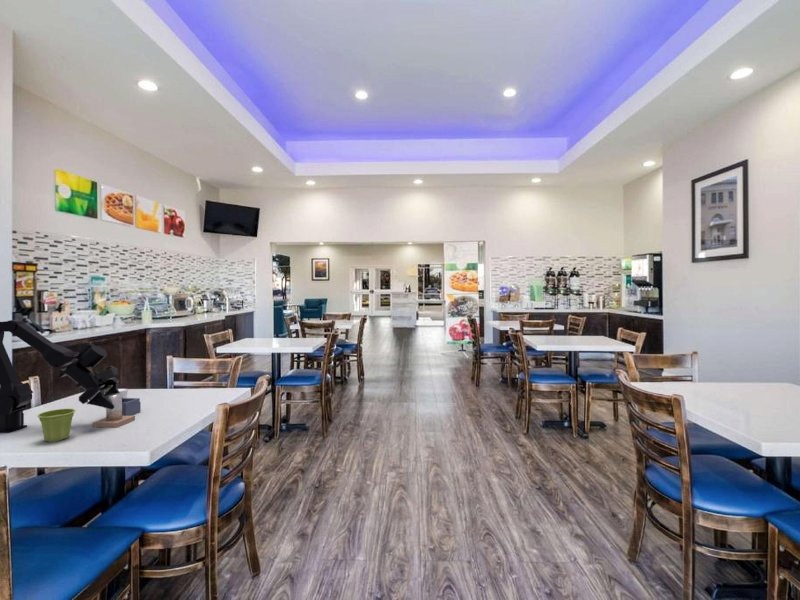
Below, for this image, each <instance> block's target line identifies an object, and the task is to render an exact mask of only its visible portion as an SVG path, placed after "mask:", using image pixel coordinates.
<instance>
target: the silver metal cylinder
mask: <svg viewBox="0 0 800 600" xmlns="http://www.w3.org/2000/svg"><path fill="white" fill-rule="evenodd" d="M106 398H107V399H108V400H109V401H110V402H111V403H112V404H113V405H114V408H113V409H108V408H105V418H106V421H116V420H120V419H122V393H113V394H108V395H106Z"/></svg>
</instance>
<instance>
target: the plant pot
mask: <svg viewBox="0 0 800 600" xmlns="http://www.w3.org/2000/svg"><path fill="white" fill-rule="evenodd" d="M75 413H76V409H75V408H60V409H52V410H51V409H50V410H47V411H44V412H40V413H38V414H37V417H38V418H39V421H40V424H41V428H42V434H43V438H44V440H43V441H44V442H49V443H53V442H54V443H55V442H60V441H62V440H64V439H68V438H69V437H70V434H71V433H70V432H71V425H72V420H73V417H74V414H75Z"/></svg>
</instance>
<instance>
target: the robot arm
mask: <svg viewBox="0 0 800 600" xmlns="http://www.w3.org/2000/svg"><path fill="white" fill-rule="evenodd" d="M5 332H9V333H10V334H13V336H15V337H17V338H18V339H20V340H21V341H23V343H24V342H25V343H26V345H28V346H30V347H31V348H33V349H34V350H35V351H37V352H38V353H39V354H41V357H42V358H43V360H44V361H45V362H46V363H47V364H48V365H49V366H51V367H52V368H61V369H59V370H58V371H59V373H58V378H59V379H61V378H63V377H67V376H68V377H69V379H71V380H72V381H74V382H75V383H76V385H75V386H76V387H77V388H82V389H83V390H85V391H84V392H82V394H80V395H79V396H78V402H80V404H82V405H85V404H86V405H90V406H91V405H92V406H97V407H100V408H105V409H106V408H108V409H113V408H114V405H113V404H112V403H111V402H110V401H109V400H108V399H107V398H106V395H108V394H113V393H120V392H119V390H118V389H119V384H120V383H119V382H120V380H119V379H118V378H117V377H115V376H118V375H119V372H118V371H119V369H118V368H117V367H116V366H114V365H110V366H107V367H105V370H103V371H101V372H98V371H92V370H91V369H90V368H95V367H96V366H97V365H99V363H100V362H101V361H103V360H104V359H105V358H106V357H107V356H108V354H107V352H106V350H105V349H103V348H102V347H100V346H97V345H95V344H93V343H88V344H87V345H86V346H85V348H84V349H83V350H81V351H80V352H75V351H73V350H72V349H69V348H67V347H65V346H63V345H59V344H58V343H54V342H52V341H51V340H49V339H48V338H47V337H46V336H44V335H42V334H41V333H39V332H38V331H36V330H35V329H34V328H32V327H31V326H29V325H27V323H25V322H24V321H23V320H21V319H11V320H7V321H0V433H10V432H14V431H18V430H20V429H24V428H26V427H28V425H27V424H25V417H24V416H25V415H24V409H27V406H28V404H29V403H30V402H31V401H32V399H33V394H34V391H33V390H32V389H31V386H30V385H31V384H30V382H28V381H27V382H24V383H23V382H22V380H21V381H20V379H19V378H18V375H17V372H16V371H15V368H14V366H13V362H12V361H11V359H10V356H9V354H8V352H7V350H6V347H5V345H4V337H5ZM25 343H24V344H25ZM73 362H74V363H73ZM65 366H66V367H65ZM62 367H65V368H62ZM124 401H125V400H124V399H123V397H122V403H123V402H124ZM24 424H25V425H24Z"/></svg>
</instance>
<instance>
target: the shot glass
mask: <svg viewBox="0 0 800 600" xmlns="http://www.w3.org/2000/svg"><path fill="white" fill-rule="evenodd" d="M118 390H119V392H120V393H122V397H123V398H128V392H129V390H128V388H118Z"/></svg>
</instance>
